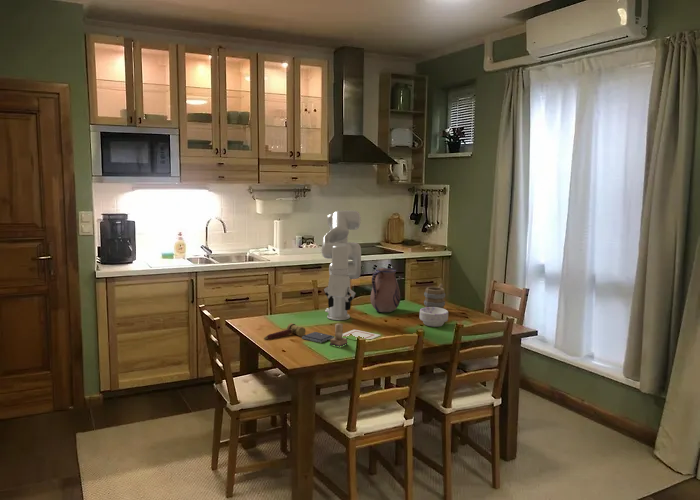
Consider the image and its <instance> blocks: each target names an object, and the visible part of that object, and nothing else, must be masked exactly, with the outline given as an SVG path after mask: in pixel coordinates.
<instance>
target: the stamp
mask: <svg viewBox="0 0 700 500" xmlns="http://www.w3.org/2000/svg"><path fill="white" fill-rule="evenodd" d="M343 326H344V325H343V323H336V324H335V325H334V328H335V330H334V333H335V334H334V338H333V339H330V340H329V341H330V343H329V346H330V345H335V346H339V347H340V346H343V345H345V344H347V343H349V342H348V339H346V338H342V336H343V330H344V329H343Z"/></svg>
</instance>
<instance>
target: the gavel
mask: <svg viewBox="0 0 700 500" xmlns="http://www.w3.org/2000/svg"><path fill="white" fill-rule="evenodd" d="M306 332H307V331H306V328H305V327H303V326H299V325H296V323H292V322H291V323H289V324H287V328H286V329H285V330H281V331H280V330H279V331H277V332H274V333H270V334H267V335H266V336H264V337H263V340H273V339H277V338H281V337H284V336H289V335H291V334H295V335H296V336H299V337H302V336H304V335H306Z"/></svg>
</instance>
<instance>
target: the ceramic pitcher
mask: <svg viewBox="0 0 700 500" xmlns="http://www.w3.org/2000/svg"><path fill="white" fill-rule="evenodd" d="M374 270H375V271H374V272H373V274H372V275H371V287H372V289H371V292H370V303H371V306H372V307H373V309H374V310H375V311H376V312H380V313H393V312H394V311H396V310H397V308H398V307H399V305H400V303H401V292H400V287H399V283H398V279H397V278H396V272H397V269H395V268H394V267H388V268H387V267H376V268H375V269H374Z"/></svg>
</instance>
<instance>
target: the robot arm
mask: <svg viewBox="0 0 700 500" xmlns="http://www.w3.org/2000/svg"><path fill="white" fill-rule="evenodd" d="M361 218H362V217H361V214H360V212H359V211H357V210H350V209H349V210H348V209H347V210H339V209H338V210H336V211H334V212H333V213H329V214H328V215H327V216H326V222H327V226H328V228H329V231H328V232H326V233H325V235H324V236H323V238H322V241H321V242H322V243H321V255H322V257H323V258H324V259H327V260H328V259H329V260H331V263H330V264H329V267H328V272H329V277H328V284H327V285H328V286H326V287H325V288H324V289H323V291H324V293H325V296H326V299H327V301H328V302H327V303H328V307H326V308H325V310H324V312H325V313H328V314H327V319H329V320H332V321H345V320H348V319H349V320H350V318H351V316H350V314H349V313H348V311H350V310H351V306H352V305H351V302H352V301H353V300H354V299H355V296H356V292H355V291H353V290H352V289H351V280H353V279H359V278H360V276H361V273H362V272H361V271H362V248H361V245H360V244H359V243H358V242H355V241H354V242H349V241H348V239H349V238H348V236H349V233H350V230H351V231H352V230H353V231H356V230H358V229H360V227H361V221H362V219H361Z"/></svg>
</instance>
